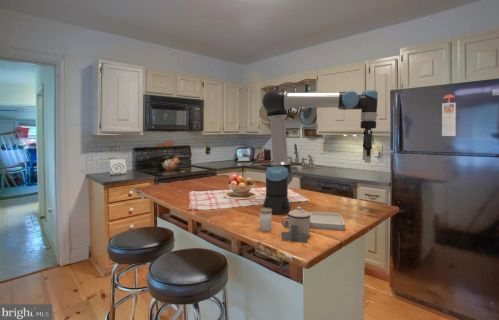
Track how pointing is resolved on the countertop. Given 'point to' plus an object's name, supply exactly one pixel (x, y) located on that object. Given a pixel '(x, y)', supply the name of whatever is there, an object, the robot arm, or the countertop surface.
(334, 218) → the tray
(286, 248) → the countertop surface
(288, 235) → the clip cradle
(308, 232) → the teacup with lid
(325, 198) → the countertop surface
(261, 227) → the jar
